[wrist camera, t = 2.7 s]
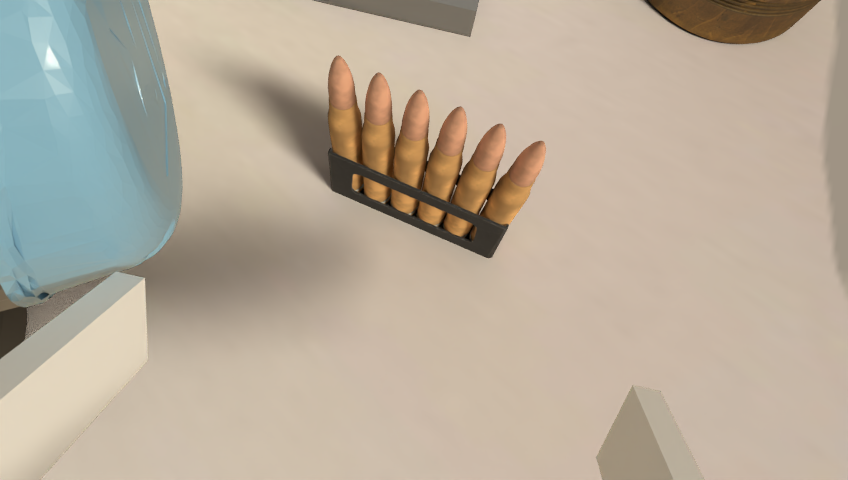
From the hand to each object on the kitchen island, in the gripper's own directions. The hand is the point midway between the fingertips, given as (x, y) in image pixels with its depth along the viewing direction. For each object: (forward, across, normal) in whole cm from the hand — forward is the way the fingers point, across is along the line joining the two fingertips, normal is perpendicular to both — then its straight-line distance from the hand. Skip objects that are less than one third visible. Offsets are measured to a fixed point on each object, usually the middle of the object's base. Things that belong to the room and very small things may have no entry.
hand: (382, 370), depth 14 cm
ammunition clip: (+18, 0, -3) cm, 19 cm away
